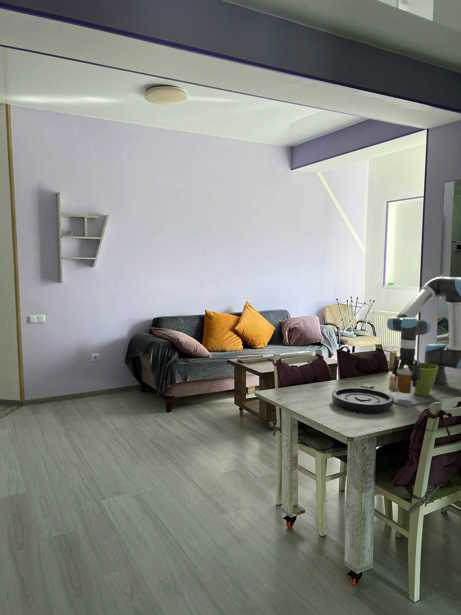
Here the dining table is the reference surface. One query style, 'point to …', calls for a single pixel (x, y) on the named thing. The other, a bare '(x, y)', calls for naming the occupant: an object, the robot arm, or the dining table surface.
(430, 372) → the flower pot
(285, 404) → the dining table surface
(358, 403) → the round tray
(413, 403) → the slate board
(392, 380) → the light brown egg
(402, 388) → the disposable coffee cup
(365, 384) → the walnut block
